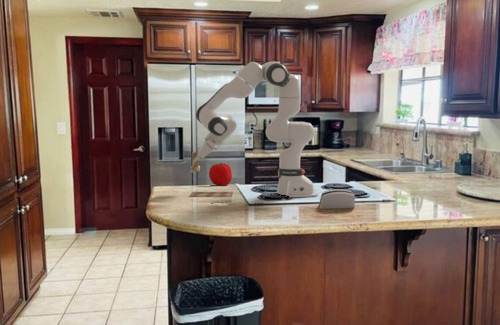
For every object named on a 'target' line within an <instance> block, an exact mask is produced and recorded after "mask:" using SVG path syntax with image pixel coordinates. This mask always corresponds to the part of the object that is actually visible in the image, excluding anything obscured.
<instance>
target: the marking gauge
mask: <svg viewBox="0 0 500 325" xmlns="http://www.w3.org/2000/svg"><path fill="white" fill-rule="evenodd" d="M197 155H198V151H194V152H193V151H192V153H191V160H192V161H191V162H192V165H191V166H190V173H200V172H201V166H200V165H199V160H197V161H196V162H194V161H193V159H194V158H195V157H196V156H197Z"/></svg>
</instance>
